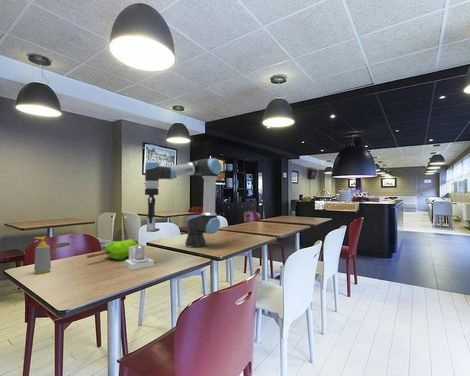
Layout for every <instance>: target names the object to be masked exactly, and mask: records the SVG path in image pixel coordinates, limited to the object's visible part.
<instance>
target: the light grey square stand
mask: <svg viewBox="0 0 470 376" xmlns="http://www.w3.org/2000/svg"><path fill="white" fill-rule="evenodd" d="M142 245H143V246H144V247H145V245H144V244H142ZM154 262H155V260H153V259H152V258H149V256H144V259H143V260H135V246H132V247H129V256H128V259H124V266H125V267H126V268H127V269H129V270H130V271H134V270H141V269H145V268H151V267H154V266H155V263H154Z"/></svg>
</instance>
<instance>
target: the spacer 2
mask: <svg viewBox="0 0 470 376" xmlns="http://www.w3.org/2000/svg"><path fill="white" fill-rule="evenodd" d="M154 232H156V219H155V218H154V219H153V229H148V218H147V219H146V233H154Z"/></svg>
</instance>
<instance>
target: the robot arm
mask: <svg viewBox="0 0 470 376" xmlns="http://www.w3.org/2000/svg"><path fill="white" fill-rule="evenodd" d="M222 169H223V167H222V164H221V162H220V160H219V159H217V158H205V159H198V160H197V159H196V160H195V161H190V162H187V163H183V164H175V165H167V166H164V165H163V166H161V165H160V163H159V162H158V161H146V163H145V166H144V170H145V171H144V176H145V177H144V181H145V182H144V183H143V184H144V188H145V189H144V195H145V196H148V198H147V206H148V207H147V216H146V218H147V219H148V229H153V219H155V217H157V215H156V214H155V209H156V208H155V206H156V198H155V196H158V195H159V189H158V188H159V185H160V181H159V180H174V179H175V178H176V177H178V176H179V177H180V176H185V175H189V176H194V175H195V176H201V177H202V178H203V199H202V200H203V202H202V203H203V204H202V208H203V209H202V213H200V214H194V215H193V214H192V215H188V216H187V236H186V239H185V243H184V244H185V245H186V246H191V247H190V248H193V247H194V248H199V247H198V246H203V247H205V246H206V240H205V237H204V234H208V235H210V234H213V235H214V234H216V233H217V232H218V231H219V229H220V228H221V227H220V226H221V221H220V219H219V217H218V215H217V213H216V187H217V186H216V185H217V179H218V178H219V174H221V172H222ZM185 245H184V246H185ZM204 245H205V246H204ZM186 246H185V247H186Z"/></svg>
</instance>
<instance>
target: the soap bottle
mask: <svg viewBox="0 0 470 376" xmlns="http://www.w3.org/2000/svg"><path fill="white" fill-rule="evenodd" d="M47 237H48V236H40V237H39V236H38V237H33V239H36V240H37V239H38V240H41V241H40V243H39V244H38V246H36V247H35V251H34V252H35V255H34V268H33V269H34V270H33V271H34V272H35V274H37V275H42V274H46V273H49V272H50V270H51V269H52V262H51V246H50V245H48V244H47V242H46V241H45V240H46V239H45V238H47Z"/></svg>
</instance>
